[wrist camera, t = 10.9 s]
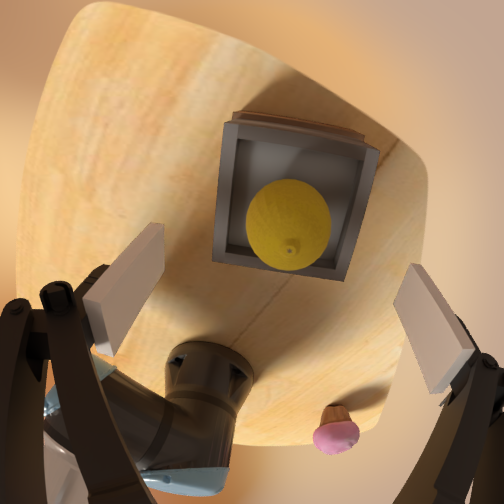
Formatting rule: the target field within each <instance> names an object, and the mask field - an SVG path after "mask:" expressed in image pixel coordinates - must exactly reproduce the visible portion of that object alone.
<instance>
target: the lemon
mask: <svg viewBox="0 0 504 504" xmlns="http://www.w3.org/2000/svg"><path fill="white" fill-rule="evenodd" d="M246 231H247V236H248V240H249V243H250V245H251V247H252V249H253V251H254V253H255V254H256V255H257V256H258V257H259V258H260V259H261V260H262V261H263V262H264V263H266V264H267V265H269V266H271V267H274V268H276V269H279V270H286V271H290V270H298V269H302V268H305V267H307V266H309V265H310V264H312V263H314V262H315V261H316V260H317V259H318V258H319V257H320V256H321V255H322V253H323V252H324V250H325V249H326V247H327V244H328V241H329V238H330V235H331V217H330V212H329V208H328V206H327V204H326V202H325V200H324V198H323V197H322V196H321V194H320V193H319V192H318V191H317V190H316V189H315V188H313V187H312V186H310V185H309V184H307V183H305V182H302V181H299V180H296V179H282V180H277V181H274V182H272V183H270V184H268V185H266V186H264V187H263V188H262V189H261V190H260V191H259V192H257V194H256V195H255V197H254V198H253V200H252V201H251V203H250V206H249V209H248V211H247V215H246Z"/></svg>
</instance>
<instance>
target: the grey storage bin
mask: <svg viewBox="0 0 504 504" xmlns="http://www.w3.org/2000/svg"><path fill="white" fill-rule="evenodd" d="M364 137H365V135H363V134H360V133H358V132H356V131H354V130H350V129H346V128H341V127H337V126H332V125H328V124H323V123H318V122H313V121H307V120H302V119H296V118H290V117H284V116H278V115H271V114H264V113H256V112H248V111H236V112H233V116H232V120H231V121H228V122H225V123H224V129H223V138H222V148H221V158H220V168H219V178H218V189H217V201H216V213H215V225H214V239H213V253H212V261H214V262H220V263H226V264H233V265H239V266H245V267H251V268H258V269H264V270H270V271H277V272H283V273H290V274H296V275H303V276H309V277H316V278H322V279H329V280H336V281H343V282H344V279H345V276H346V273H347V270H348V267H349V264H350V261H351V258H352V255H353V251H354V248H355V245H356V242H357V238H358V235H359V231H360V228H361V225H362V221H363V218H364V214H365V210H366V207H367V203H368V199H369V195H370V192H371V188H372V184H373V180H374V176H375V171H376V167H377V163H378V158H379V154H380V151H379V150H377V149H375V148H374V147H372V146H370V145H368V144H366V143H365V142H364ZM282 179H296V180H299V181H302V182H305V183H307V184H309V185H310V186H312V187H313V188H315V189H316V190H317V191H318V192H319V193H320V194H321V196H322V197H323V198H324V200H325V202H326V204H327V206H328V208H329V212H330V217H331V235H330V238H329V241H328V244H327V247H326V249H325V250H324V252H323V253H322V255H321V256H320V257H319V258H318V259H317V260H316V261H315V262H314V263H312V264H310V265H309V266H307V267H305V268H302V269H298V270H290V271H286V270H279V269H276V268H274V267H271V266H269V265H267V264H266V263H264V262H263V261H262V260H261V259H260V258H259V257H258V256H257V255H256V254H255V253H254V251H253V249H252V247H251V245H250V243H249V240H248V236H247V231H246V215H247V211H248V209H249V206H250V203H251V201H252V200H253V198H254V197H255V195H256V194H257V192H259V191H260V190H261V189H262V188H263V187H264V186H266V185H268V184H270V183H272V182H274V181H277V180H282Z"/></svg>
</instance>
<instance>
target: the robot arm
mask: <svg viewBox="0 0 504 504" xmlns="http://www.w3.org/2000/svg"><path fill="white" fill-rule="evenodd" d="M164 271H165V256H164V224H158V223H150V224H149V225H148V226H147V227H146V228H145V229H144V230H143V231H142V232H141V233H140V234H139V235H138V236H137V237H136V238H135V239H134V240H133V241H132V242H131V243H130V245H129V246H128V247H127V248H126V249H125V250H124V251H123V252H122V253H121V254H120V255H119V256H118V258H117V259H116V260H115V261H114V262H113V263H112V264H111V265H105V264H103V265H101V266H99V267H97V268H96V269H94V270H93V271H92V272H91V273H90V274H89V275H88V277H87V278H86V279H85V280H84V281H83V282H82V283H81V284H80V285H79V286H78V288H77V289H76V290H75V291H74V292H73V289H72V286H71V285H70V284H69V283H68V282H65V281H54V282H51V283H49V284H47V285H46V286H44V287H43V288H42V289H41V291H40V294H39V296H40V299H41V302H42V305H43V308H44V310H43V309H32V308H31V305H30V303H29V301H28V300H26V299H24V298H18V299H14V300H12V301H10V302H9V303H7V304H6V306H5V307H4V309H3V311H2V314H1V316H0V504H157V502H156V501H155V499H154V498H153V496H152V494H151V492H150V491H149V489H148V487H150V488H153V489H156V490H160V491H164V492H168V493H174V494H180V495H188V496H212V495H215V494H218V493H219V492H221V491H222V489H223V488H224V485H225V482H226V478H227V474H228V472H229V463H230V456H231V450H232V443H233V437H234V431H235V423H236V418H237V414H238V412H239V410H240V409H241V407H242V405H243V403H244V402H245V400H246V398H247V397H248V395H249V393H250V391H251V388H252V383H253V371H252V368H251V366H250V364H249V363H248V362H247V361H246V360H245V359H244V358H243V357H242V356H241V355H239V354H238V353H236V352H235V351H233V350H231V349H229V348H226V347H224V346H221V345H218V344H214V343H209V342H189V343H184V344H181V345H179V346H177V347H176V348H174V349H173V350H172V351H171V353H170V355H169V357H168V359H167V362H166V365H165V398H163V397H162V396H160V395H158V394H156V393H155V392H153V391H151V390H149V389H148V388H146V387H144V386H143V385H141V384H139V383H138V382H136V381H135V380H133V379H131V378H130V377H128V376H127V375H125V374H124V373H122V372H121V371H119V370H118V369H116V368H117V367H116V366H112V365H111V364H109V363H107V362H106V361H104V360H103V359H101V358H99V357H98V356H96V355H95V354H92V353H91V351H90V348H91V347H92V345H93V344H94V343H95V346H96V349H97V352H98V353H101V354H104V355H108V356H111V357H114V356H115V354H116V352H117V351H118V349H119V347H120V345H121V343H122V342H123V340H124V338H125V336H126V335H127V333H128V331H129V329H130V328H131V326H132V324H133V322H134V321H135V319H136V317H137V316H138V314H139V312H140V310H141V309H142V307H143V305H144V304H145V302H146V300H147V299H148V297H149V295H150V294H151V292H152V290H153V289H154V287H155V285H156V284H157V282H158V281H159V279H160V277H161V276H162V274H163V273H164ZM393 305H394V307H395V309H396V311H397V313H398V316H399V318H400V320H401V322H402V325H403V327H404V329H405V332H406V334H407V336H408V339H409V341H410V344H411V346H412V348H413V351H414V353H415V356H416V358H417V361H418V364H419V366H420V368H421V371H422V374H423V377H424V379H425V382H426V385H427V388H428V390H429V393H430V394H436V393H443V392H444V390H445V389H446V388H447V387H448V386H449V384H450V385H451V388H452V391H451V392H450V393H449V394H448V396H447V397H446V398H445V399H444V400H443V401H442V402H441V404H440V405H439V406H442V405H443V404H444V406H443V409H442V411H441V414H440V416H439V418H438V421H437V423H436V425H435V428H434V430H433V432H432V434H431V436H430V439H429V441H428V443H427V445H426V447H425V449H424V451H423V453H422V454H421V456H420V458H419V460H418V462H417V464H416V466H415V467H414V469H413V471H412V473H411V474H410V476H409V478H408V480H407V481H406V483H405V485H404V487H403V488H402V490H401V491H400V493H399V494H398V496H397V497H396V499H395V500H394V502H393V504H465V499H466V496H467V494H468V491H469V489H470V486H471V483H472V481H473V486H472V492H471V498H470V503H469V504H504V412H503V411H502V408H503V407H504V368H500V367H499V365H498V363H497V361H496V360H495V359H494V358H493V357H492V356H491V355H489V354H487V353H481V352H480V350H479V348H478V346H477V345H476V343H475V341H474V339H473V338H472V336H471V335H470V333H469V331H468V329H466V326H465V324H464V323H463V321H462V320H461V319H460V318H459V317H458V316H457V315H456V314H454V313H453V311H452V309H451V308H450V306H449V304H448V303H447V302H446V300H445V298H444V297H443V295H442V294H441V292H440V291H439V289H438V288H437V287H436V285H435V284H434V282H433V281H432V279H431V278H430V276H429V275H428V274H427V272H426V271H425V269H424V268H423V267H422V265H419V264H414V263H410V265H409V267H408V270H407V272H406V275H405V277H404V279H403V282H402V284H401V287H400V289H399V291H398V294H397V296H396V298H395V300H394V303H393ZM48 360H51V363H52V369H53V375H54V380H55V385H54V386H53V387H52V388H51V390H50V391H49V392H48V394H47V395H46V397H45V389H46V378H47V369H48ZM44 416H46V418H45V420H44ZM43 439H44V440H45V446H44V443H43ZM473 478H474V480H473ZM147 486H148V487H147Z"/></svg>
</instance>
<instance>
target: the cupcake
mask: <svg viewBox="0 0 504 504" xmlns="http://www.w3.org/2000/svg"><path fill="white" fill-rule="evenodd" d="M359 432H360V431H359V428H358V426H357V425H356V424H355V423H354V422H352V420H351V418H350V416H349V413H348V411H347V409H346V408H345V407H344V406H342V405H339V406H335V407H332V406H329V407H326V408H325V409H324V411H323V413H322V416H321V422H320V426H319V427H318V428H317V429H316V430H315V432H314V434H313V442H314V445H315V446H316V448H318V449H319V450H321V451H323V452H324V453H325V454H329V455H332V454H339V453H342V452H344V451H346V450H348V449H350V448H352V446H353V445H354V444H356V443H357V441H358V439H359V434H360V433H359Z"/></svg>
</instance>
